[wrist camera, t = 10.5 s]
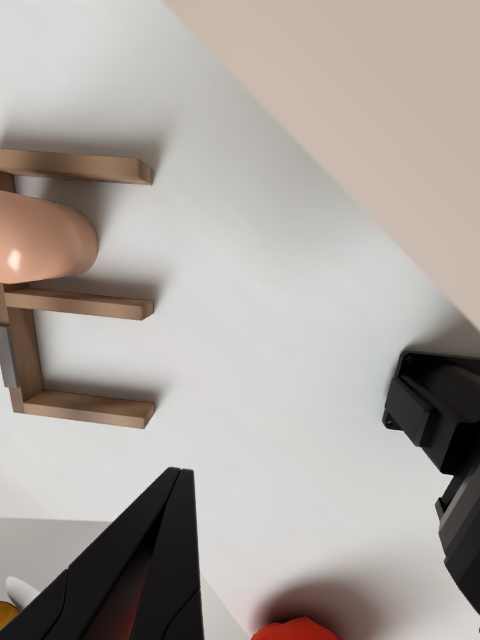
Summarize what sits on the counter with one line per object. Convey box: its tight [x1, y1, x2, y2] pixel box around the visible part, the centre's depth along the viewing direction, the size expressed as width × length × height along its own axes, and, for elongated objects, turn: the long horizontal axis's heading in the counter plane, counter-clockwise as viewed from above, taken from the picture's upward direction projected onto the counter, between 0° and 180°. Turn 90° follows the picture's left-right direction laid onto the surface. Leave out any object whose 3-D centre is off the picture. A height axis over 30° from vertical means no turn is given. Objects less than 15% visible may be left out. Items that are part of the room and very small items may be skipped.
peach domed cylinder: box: [0, 190, 98, 284], centre depth 16 cm, size 5×5×5 cm
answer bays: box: [0, 149, 154, 429], centre depth 19 cm, size 11×19×2 cm, turn 175°
